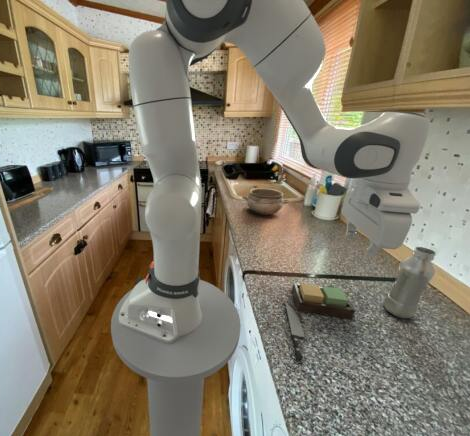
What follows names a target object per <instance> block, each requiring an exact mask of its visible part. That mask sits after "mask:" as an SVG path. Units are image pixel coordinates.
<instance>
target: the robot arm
mask: <svg viewBox="0 0 470 436" xmlns="http://www.w3.org/2000/svg"><path fill="white" fill-rule="evenodd" d="M222 43H229V44H231V45H233V46H235V47H236V48H238V50H239V51H240V52H242V53H243V54H244V56H245V58H246V59H247V60H248V62H249V64H250V66H251V67H252V69H253V70H254V71H255V74H257V75H258V77H259V78H260V79H261V81H262V82H263V84H264V85H265V86H266V88H267V89H268V91H269V92H270V93H271V94H272V96H273V97H274V98H275V100H276V101H277V103H278V105H279V107H280V108H281V110H282V112H283V113H284V115H285V117H286V118H287V120H288V122H289V124H290V125H291V127H292V129H293V130H294V132H295V134H296V136H297V138H298V141H299V145H300V152H301V157H302V159H303V161H304V163H305V164H306V165H307V166H308V167H310V168H313V169H316V170H321V171H324V172H327V173H329V174H333V175H335V176H338V177H342V178H345V179H356V182H355V184H354V185H353V186H352V189H349V191H348V192H347V194H346V195H345V198H344V201H343V203H342V206H341V209H340V213H341V215H342V216H343V217H344V218H345V219H346V232H345V237H346V238H347V239H349V240H355V239H356V237H357V230H359V231H360V232H361V233H362V234H363V235H364V236H365V237H366V238H367V239H368V240H369V243H368V244H369V246H367V247H364V249H363V252H362V254H363V256H364V257H365V258H367V259H375V257H376V255H377V253H378V252H380V251H381V250H382V249H386V250H396V249H399V248H401V247H402V246H403V244H404V243H405V240H406V238H407V236H408V234H409V232H410V229H411V227H412V223H413V216H412V214H417V213H418V212H419V211H420V208H421V204H420V202H419V201H418V200H417V199H416V198H415V196H414V195H413V194H412V192H411V190H410V188H409V185H410V182H411V175H412V172H413V169H414V168H415V167H416V165H417V164H418V162H419V160H420V158H421V155H422V153H423V150H424V148H425V145H426V142H427V138H428V136H429V135H428V134H429V129H430V122H429V119H428V118H427V117H426V115H423V114H420V113H418V112H412V111H403V110H388V111H385V112H383V113H382V114H381V115H380V116H378V117H377V118H375V119H373V120H371V121H369V122H367V123H365V124H361V125H359V126H355V127H353V128H352V127H351V128H349V127H339V126H335V125H333V124H332V123H330V122H328V121H327V120H326V118H325V116H324V114H323V113H322V110H321V108H320V106H319V105H318V103H317V101H316V99H315V96H314V95H313V91H312V90H313V89H312V85H313V82H314V80H315V78H317V75H318V74H319V72H320V70H321V68H322V66H323V63H324V60H325V58H326V57H325V56H326V52H327V48H326V44H325V40H324V36H323V33H322V31H321V28H320V26H319V24H318V23H317V21H316V19H315V17H314V15H313V13H312V12H311V10H310V9H309V7H308V5H307V4H306V2H305V1H304V0H165V16H164V21H163V22H162V24H161V25H160V26H159V27H157V28H156V29H152V30H147V31H145V32H142V33H140V34H139V35H138V36H136V37H135V38H134V39H133V40H132V42H131V44H130V46H129V50H128V72H129V73H128V74H129V86H130V94H131V99H132V100H131V101H132V107H133V111H134V116H135V117H134V118H135V123H136V128H137V132H138V133H137V134H138V139H139V143H140V148H141V152H142V154H144V157H145V159H146V161H147V163H148V167H149V169H150V172H151V176H152V179H153V188H152V190H151V191H150V192H149V193H148V196H147V198H146V202H145V206H144V207H145V209H144V220H145V223H146V226H147V228H148V229H149V235H150V239H151V242H152V250H153V261H151V263H150V264H149V269H148V270H147V272H146V276H145V278H142V277H140V278H139V277H136V278H135V284H134V285H135V286H134V287H133V288H132V289H133V290H132V289H131V290H132V292H131V293H130V296H129V297H128V298H127V299H126V300H125V302H124V304H123V305H122V307H121V310H120V313H119V324H120V325H121V326H123V327H125V328H128V329H131V330H133V331H136V332H138V333H141V334H143V335H146V336H149V337H151V338H154V339H156V340H159V341H161V342H164V343H167V344H170V343H172V342H174V341H175V340H176V339H177V338H179V337H181V336H183V335H186V334H189V333H191V332H193V331H194V330H195V329H196V328H197V327H198V326H199V325H200V323H201V320H202V312H201V309H200V305H199V298H198V293H199V289H200V280H201V277H200V276H201V274H200V273H201V272H200V269H199V262H200V261H199V260H200V243H201V227H202V226H201V224H202V223H201V222H202V204H203V203H202V202H203V197H202V196H203V188H202V187H203V186H202V178H201V171H200V170H201V169H200V163H199V155H198V149H197V142H196V133H195V121H194V115H193V105H192V95H191V88H190V67H192V66H194V65H195V64H198V63H200V62H202V61H203V60H206V58H209V56H211V55H212V54H213V53H214V52H215V51H216V49H217V47H218V46H220V45H221V44H222ZM163 336H166V337H163Z"/></svg>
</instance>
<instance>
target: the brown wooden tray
mask: <svg viewBox="0 0 470 436" xmlns="http://www.w3.org/2000/svg"><path fill="white" fill-rule="evenodd" d="M299 287H300V283H297V282H293V284H292V289H291V293H292V295H293V299H294V302H295V305H296V308H297V311H298V312H304V313H310V314H311V313H312V314H317V315H324V316H331V317H337V318H344V319H350V320H351V319H352V320H353V318H354V315H355V313H356V309H355V307H354V306H353V304H352V303H351V301H350V300H349V298H348V296H347V295H346V293H345V292H344V289H342V291H343V292H344V294H345V296H346V297H347V299H348V303H347V306H346V307H341V306H334V305H327V304H320V303H314V302H307V301H303V300H302V298H301V295H300V292H299ZM319 288H320V290H322V286H319Z"/></svg>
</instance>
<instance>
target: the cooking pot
mask: <svg viewBox="0 0 470 436" xmlns="http://www.w3.org/2000/svg"><path fill="white" fill-rule="evenodd" d="M283 196H284V192H282V191H281V190H278V189H275V188H271V187H253V188H250V189H249V194H248V196H245V195H242V196H241V198H242V199H243V200H244V201H246V204H247V206H248V208H250V209H251V211H253V212H255V213H256V214H258V215H260V216H269V215H271V214H272V215H273V214H276V213H277V212H279V211H280V210H281V209H282V208H283V206H284V205H285V204H288V203H290V201H291V200H290V199H289V198H288V199H284V198H283Z"/></svg>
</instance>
